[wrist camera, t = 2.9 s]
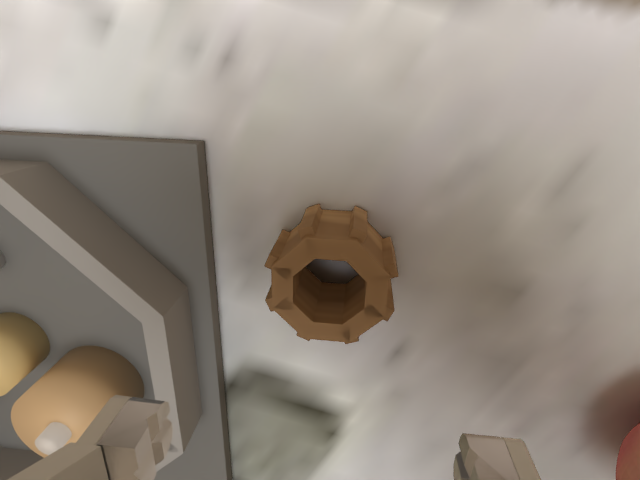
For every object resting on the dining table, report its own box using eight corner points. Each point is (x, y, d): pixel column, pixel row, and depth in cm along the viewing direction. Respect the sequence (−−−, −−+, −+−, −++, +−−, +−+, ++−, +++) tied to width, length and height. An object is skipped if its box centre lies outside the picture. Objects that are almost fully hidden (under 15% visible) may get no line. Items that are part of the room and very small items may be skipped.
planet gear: (397, 206, 21) (404, 235, 17) (386, 308, 23) (390, 353, 19) (278, 198, 21) (260, 225, 18) (279, 300, 24) (264, 342, 20)
